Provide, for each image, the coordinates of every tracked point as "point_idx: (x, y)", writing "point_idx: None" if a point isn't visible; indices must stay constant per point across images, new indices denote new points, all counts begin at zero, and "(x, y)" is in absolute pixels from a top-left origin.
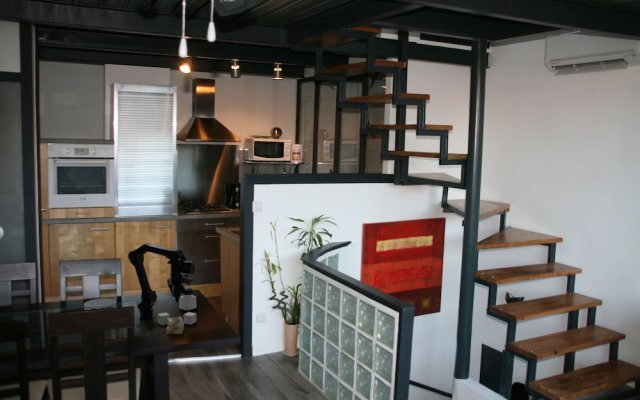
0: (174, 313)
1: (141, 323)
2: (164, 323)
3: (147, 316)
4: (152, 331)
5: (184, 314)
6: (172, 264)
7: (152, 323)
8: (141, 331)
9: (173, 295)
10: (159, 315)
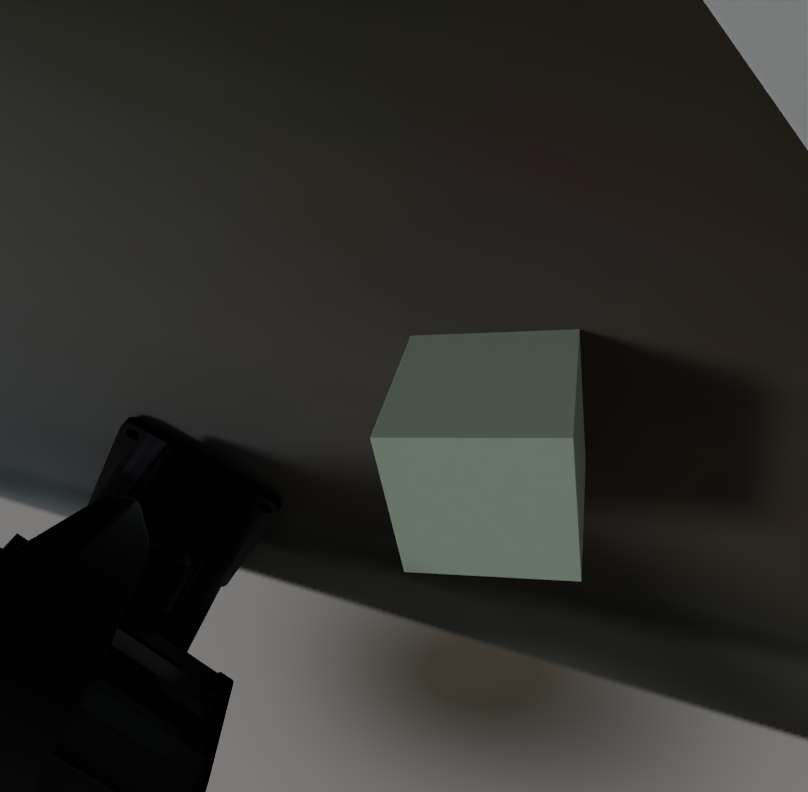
0: (12, 63)
1: (377, 601)
2: (582, 427)
3: (233, 546)
4: (786, 624)
5: (799, 121)
6: None
7: None
8: (684, 693)
9: (107, 603)
10: (502, 575)
